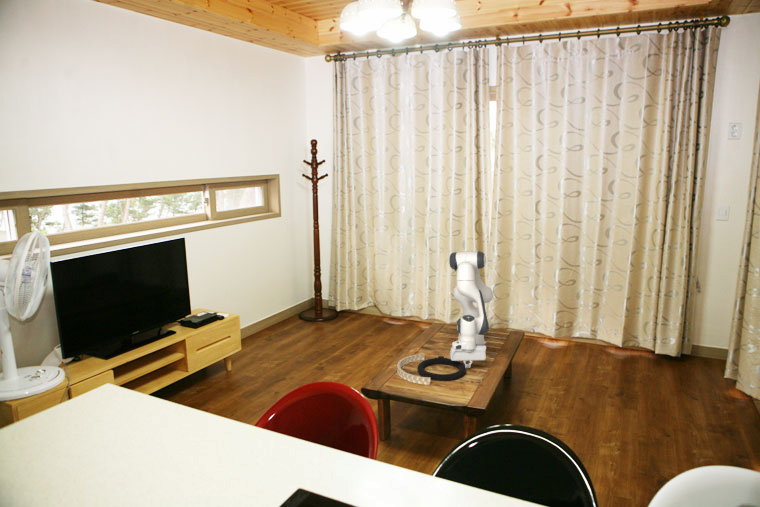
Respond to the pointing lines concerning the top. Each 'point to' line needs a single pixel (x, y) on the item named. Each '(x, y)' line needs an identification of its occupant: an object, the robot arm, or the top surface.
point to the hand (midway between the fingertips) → (467, 367)
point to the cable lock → (441, 376)
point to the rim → (408, 376)
